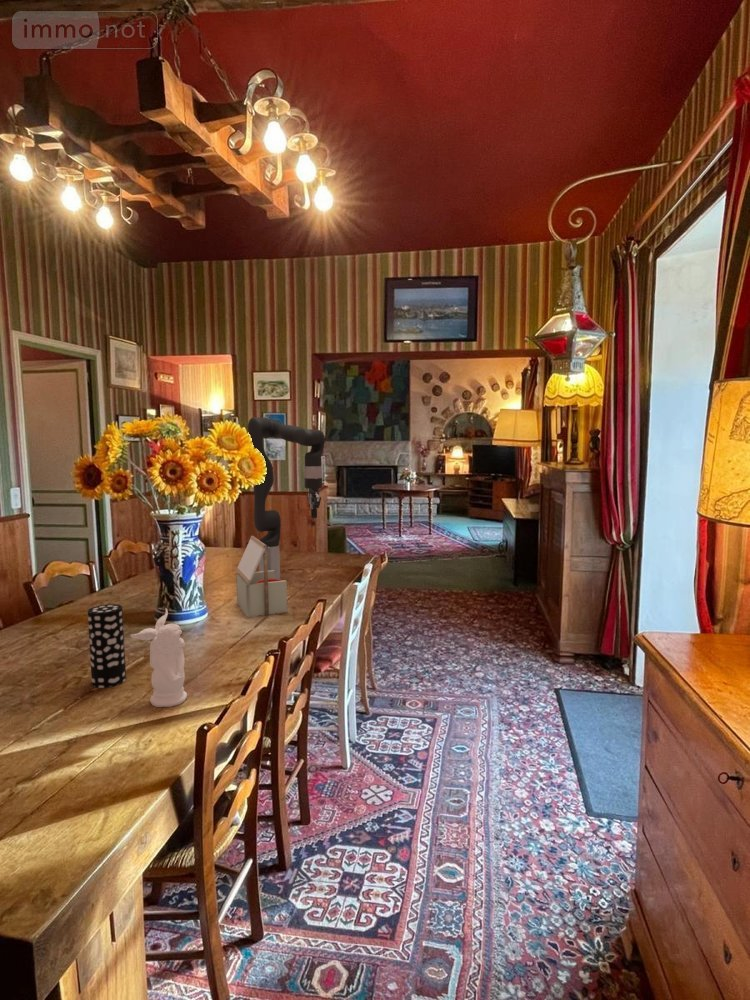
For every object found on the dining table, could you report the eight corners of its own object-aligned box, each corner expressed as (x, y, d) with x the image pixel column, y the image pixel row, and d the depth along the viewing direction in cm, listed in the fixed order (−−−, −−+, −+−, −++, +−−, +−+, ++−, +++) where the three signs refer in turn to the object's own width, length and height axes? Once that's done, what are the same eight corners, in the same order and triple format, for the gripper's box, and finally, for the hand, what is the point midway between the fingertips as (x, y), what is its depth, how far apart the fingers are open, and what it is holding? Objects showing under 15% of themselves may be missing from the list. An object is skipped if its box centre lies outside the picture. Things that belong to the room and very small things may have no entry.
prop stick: (264, 615, 207) (262, 552, 204) (268, 614, 207) (266, 552, 205) (265, 616, 205) (263, 553, 203) (269, 615, 206) (267, 553, 204)
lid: (238, 571, 223) (235, 570, 223) (253, 536, 224) (251, 535, 224) (250, 583, 202) (247, 583, 202) (267, 545, 203) (264, 544, 203)
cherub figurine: (186, 708, 135) (182, 619, 132) (130, 715, 131) (125, 625, 128) (188, 686, 146) (184, 604, 143) (137, 692, 143) (132, 609, 140)
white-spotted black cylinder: (102, 674, 154) (97, 604, 152) (131, 675, 154) (127, 604, 152) (85, 687, 146) (80, 613, 144) (116, 688, 145) (112, 613, 143)
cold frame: (237, 603, 222) (236, 573, 221) (274, 598, 229) (273, 570, 227) (247, 617, 204) (246, 585, 203) (287, 612, 210) (286, 581, 209)
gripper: (300, 476, 240) (301, 516, 241) (309, 478, 228) (310, 520, 229) (316, 476, 243) (317, 515, 244) (327, 477, 231) (327, 519, 232)
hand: (314, 517), depth 237 cm, fingers closed
